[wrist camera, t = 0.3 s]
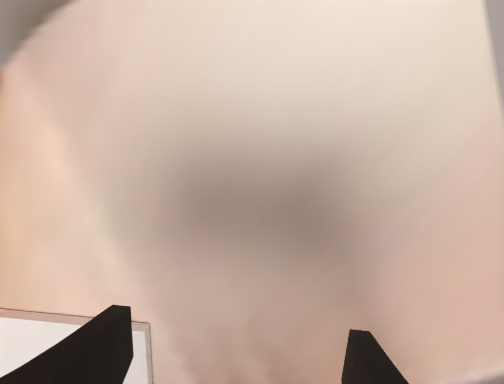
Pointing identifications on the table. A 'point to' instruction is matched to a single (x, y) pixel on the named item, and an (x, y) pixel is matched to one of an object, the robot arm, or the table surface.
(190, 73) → the table surface
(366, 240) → the table surface
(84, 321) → the shelf board
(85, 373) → the robot arm
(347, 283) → the table surface
